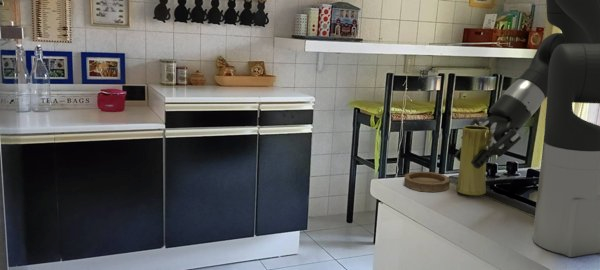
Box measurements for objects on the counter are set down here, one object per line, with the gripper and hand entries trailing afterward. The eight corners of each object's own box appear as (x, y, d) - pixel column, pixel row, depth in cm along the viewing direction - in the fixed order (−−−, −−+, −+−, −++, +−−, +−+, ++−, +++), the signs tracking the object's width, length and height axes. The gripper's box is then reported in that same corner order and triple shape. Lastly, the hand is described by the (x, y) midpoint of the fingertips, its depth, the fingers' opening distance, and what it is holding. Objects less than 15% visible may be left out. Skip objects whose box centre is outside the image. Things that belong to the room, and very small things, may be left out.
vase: (488, 189, 110) (493, 126, 107) (482, 197, 105) (487, 131, 102) (460, 185, 113) (464, 123, 110) (453, 192, 108) (457, 128, 105)
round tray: (457, 189, 112) (458, 182, 112) (418, 193, 109) (418, 186, 109) (433, 177, 121) (434, 170, 121) (396, 180, 118) (396, 173, 118)
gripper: (486, 89, 114) (437, 144, 113) (532, 97, 100) (476, 159, 99) (504, 111, 116) (456, 165, 115) (550, 122, 103) (497, 182, 102)
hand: (466, 162), depth 107 cm, fingers closed on vase, 5 cm apart
